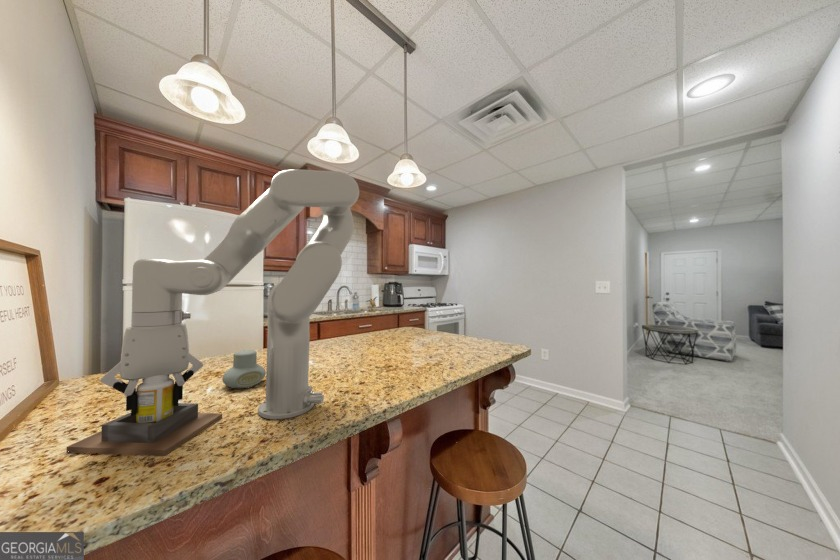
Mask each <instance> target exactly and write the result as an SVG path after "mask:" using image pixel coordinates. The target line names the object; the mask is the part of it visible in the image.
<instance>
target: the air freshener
mask: <svg viewBox="0 0 840 560" xmlns="http://www.w3.org/2000/svg"><path fill="white" fill-rule="evenodd" d="M232 363H233V364H232V367H230V368H229V369H227V370H226V371H225V372H224V373H223V375H222V382H223V384H224V385H225V386H226V387H228V388H231V389H236V388H237V389H240V390H242V389H241V388H246V389H249V388H248V387H250V388H252V387H254V386H256V385H257V384H259V383H260V382H262V381H263V380H264V378H266V377H265V376H266V369H265V367H263V366H262V365H261V364H258V363H257V351H256V350H254V349H245V350H243V349H242V350H239V351H236V352H234V353H233V362H232ZM251 386H252V387H251Z"/></svg>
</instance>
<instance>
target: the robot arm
mask: <svg viewBox="0 0 840 560" xmlns="http://www.w3.org/2000/svg"><path fill="white" fill-rule="evenodd" d="M359 196H360V187H359V184H358V182H357V181H356V179H355V178H354V177H352V176H351V175H350V174H348V173H346V172H343V171H336V170H334V171H333V170H317V169H316V170H314V169H284V170H281V171H278V172H277V173H276V174H275V175H274V176H273V177H272V179H271V182H270V186H269V188H268V189H266V191H264V192H263V193H262V194H261V195H260V196H259V197H257V199H255V201H253V202H252V204H250V205H249V206H248V207H247V208H245V210H243V212H242V213H240V214H239V215H238V216H237V217H236V218H235V219H234V221H233V223H232V224H231V225H230V228H229V230H228V232H227V234H226V235H225V237H224V238H223V239H222V241H221V242H220V243H219V244H218V245H217V246H216V247H215V248H214V249H213V250H212V251H211V252H210V253H209V254H208V255H206V257H205V258H204V259H191V260H172V259H163V258H161V259H160V258H141V259H138V260H136V261H134V263H133V265H132V287H131V288H132V289H131V291H132V292H131V321H130V322H131V324H130V327H126V328H125V331H124V334H123V339H122V345H121V353H120V361H119V362H117V364H116V365H114V366H113V367H112V368H111V369H110V370H108V372H106V374H104V375H102V377H101V378H100V383H101V384H104V385H106V386H108V387H110V388H112V389H114V390H116V391H118V392H120V393H121V394H123V395H124V396H125V397H126V399H125V400H126V401H125V411H126V412H128V411H129V412H130V413H131V416H133V415H135V414H136V407H137V386H138V383H139V381H140V380H142V379H144V378H149V377H152V376H157V375H169V376H170V375H172V376H173V378H174V406H178V403H179V401H181V400H183V393H184V391H183V390H184V385H185V383H187V382H188V381H189V380H190V378H192V377H193V376H194V374H195V373H197V372H198V371H199V370H200V369H202V368H203V367H204V363H203V362H202V361H200V360H199V359H197V357H195V356H194V355H192V354H191V352H190V349H189V347H190V345H189V336H188V328H187V325H186V323H182V322H183V321H184V320H189V319H191V316H192V315H191V314H192V313H191V312H187V311H184V310H183V294H184V295H185V294H186V295H194V296H195V295H196V296H208V295H213V294H215V293H217V292H218V293H219V292H220V291H222V290H223V289H224V288H225V287H226V286H227V285H229V283H230V282H231V281H232V280H233V279H234V278H235V277H236V276H237V275H238V274H239V273H240V272H241V271H242V270H243V269H244V268H246V266H247V265H248V264H249V263H250V262H251V261H252V260H253V259H254V258H255V257H256V256H258V254H260V253H261V252H262V251H263V250H265V249H266V248H267V246H268V245H269V244H270V243H271V242H272V241H274V239H276V237H277V236H278V235H280V233H281V232H282V231H283V230H284V229H285V228H286V227H287V226H288V225H290V223H292V221H293V220H294V219H295V218H296V217H297V216H298V215H299V214H300V213H301V212H302V211H303V210H304V209H305V208H319V209H320V211H321V213H322V222H321V223H320V225H319V226H318V228H317V229H316V230H315V233H314V234H313V236H311V239H309V240H308V241H307V243H306V244H305V246H304V247H303V248H302V249H301V250H300V251H299V252H298V254H297V256H296V258H295V262H293V264H292V265H291V267H290V269H288V271H287V273H286V274H285V275H284V277H283V278H282V280H281V281H279V282H278V283H277V284H276V285H274V286H273V287H272V288H271V290H270V291H269V293H268V297H267V308H266V309H267V338H266V339H267V345H266V369H265V372H266V374H265V376H266V377H265V383H266V384H265V400H264V401H263V402H261V403H260V404H259V405H258V408H257V414H258V415H259V417H262V418H263V419H268V420H285V419H291V418H294V417H297V416H298V417H299V416H302V415H304V414H305V413H307V412H309V411H310V410H311V409H313V407H314V406H315V404H323V403H324V401H325V395H323V392H321V391H317V392H316V391H315V392H314V391H313V386H312V385H309V374H310V373H309V367H310V341H311V340H310V336H311V335H310V329H311V328H310V316H312V315H313V313H314V312H315V311H316V310H317V308H318V307H319V306H320V304H321V302H323V299H324V298H325V297H326V295H327V294H328V292H329V290H330V289H331V288H332V286H333V285H334V283H335V281H336V280H337V278H338V276H339V274H340V271H342V265H343V260H342V254H343V252H344V251H345V249H346V247H347V245H348V244H349V243H350V240H351V239H352V236H353V234H354V229H355V228H354V227H355V224H354V223H355V222H354V217H353V213H352V210H351V208H352V207H353V206H354V205H355V204H356V202H358V199H359ZM190 364H191V365H192V366H191V367H190V368H189V365H190ZM188 368H189V369H188ZM184 371H185V372H184ZM182 372H184V373H182ZM118 374H120V379H122V380H120V379H118V378H116V376H117V375H118ZM123 380H125V381H128V382H127V383H126V382H124V381H123Z"/></svg>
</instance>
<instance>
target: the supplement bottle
mask: <svg viewBox="0 0 840 560" xmlns="http://www.w3.org/2000/svg"><path fill="white" fill-rule="evenodd" d="M169 377H170V374H169V375H157V376H152V377H149V378H144V379H141V380H142V382H141V383H139V384H137V385H136V391H137V407H136V423H156V422H158V421H160V420H162V419H164V418H166V417H168V416H170V415H172V414H173V407H174V384H175V379H173V378H171V377H170V378H169Z"/></svg>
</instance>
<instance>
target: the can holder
mask: <svg viewBox="0 0 840 560" xmlns="http://www.w3.org/2000/svg"><path fill="white" fill-rule="evenodd" d="M222 419H223V413H212V412H210V413H209V412H199V403H192V402H191V403H190V402H189V403H187V402H186V403H185V402H178V406H174V407H173V414H172V415H170V416H168V417H166V418H164V419H162V420H160V421H158V422H156V423H136V414H135V415H133V416H131V412H129V413H127V414H124V415H122V416H120V417H117V418H115V419H113V420H111V421H108V422H106V423H104V424H101V430H100V431H99V432H96V433H95V434H93V435H89V436H88V437H85V438H83V439H81V440H79V441H76V442H75V443H72V444H70V445H68V446H66V453H67V452H68V451H69V452H78V453H77V454H96V453H98V455H99V454H101V455H103V454H104V455H124V456H125V455H127V456H128V455H132V456H153V457H154V456H158V457H159V456H161V457H163V456H164V457H165V456H166V455H168V454H169V453H171V452H173V451H174V450H176V449H177V448H179V447H180V446H182V445H183V444H185V443H186V442H188V441H190V440H191V439H193V438H194V437H195V436H198V435H199V434H201V433H202V432H204V431H205V430H207V429H208V428H209V427H211V426H212V425H214V424H216V423H217V422H219V421H220V420H222Z"/></svg>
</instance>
